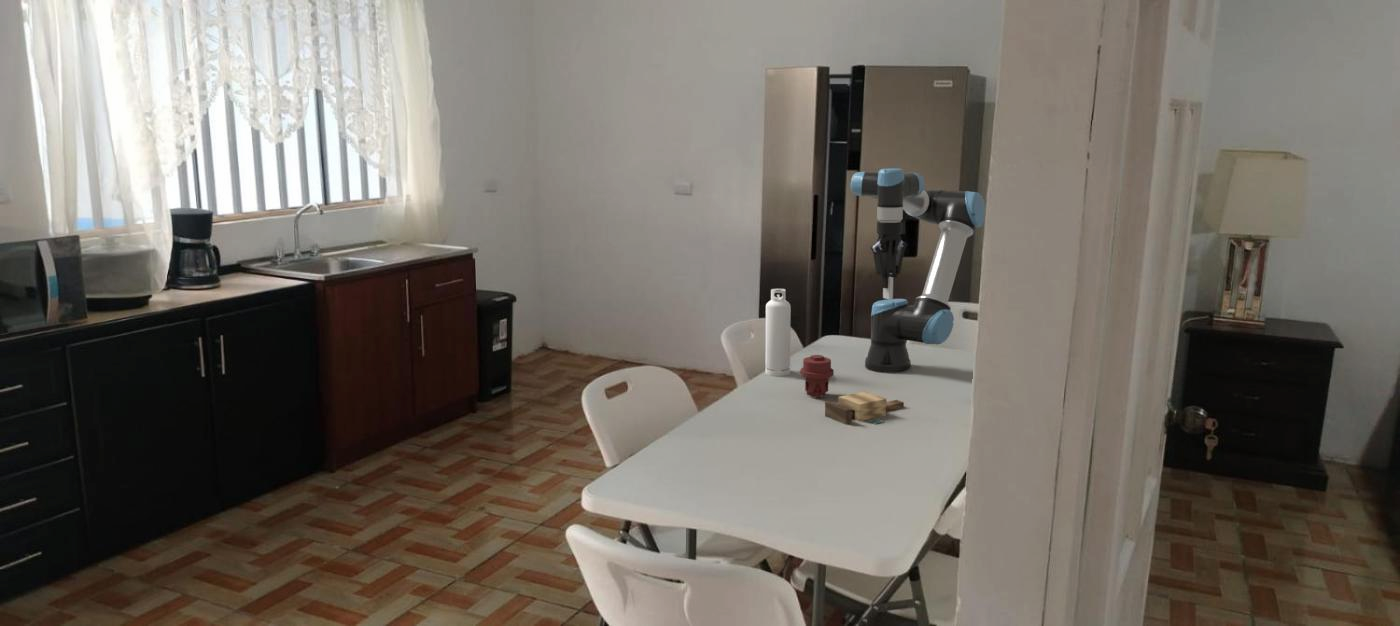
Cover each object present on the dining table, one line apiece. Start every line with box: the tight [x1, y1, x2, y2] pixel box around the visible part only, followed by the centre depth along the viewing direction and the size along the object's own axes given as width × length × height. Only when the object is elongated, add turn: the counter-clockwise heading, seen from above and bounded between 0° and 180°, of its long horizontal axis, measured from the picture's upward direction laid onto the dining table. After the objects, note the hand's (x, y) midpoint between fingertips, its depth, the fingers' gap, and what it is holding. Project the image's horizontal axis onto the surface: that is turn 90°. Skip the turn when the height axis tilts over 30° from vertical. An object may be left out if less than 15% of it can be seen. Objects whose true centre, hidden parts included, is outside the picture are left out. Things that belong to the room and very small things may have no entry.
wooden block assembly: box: [824, 399, 905, 425], centre depth 278 cm, size 24×18×4 cm
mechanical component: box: [799, 354, 834, 399], centre depth 295 cm, size 12×10×10 cm
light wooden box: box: [837, 390, 887, 422], centre depth 277 cm, size 10×9×5 cm
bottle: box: [764, 288, 792, 377], centre depth 319 cm, size 8×8×28 cm
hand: (887, 298), depth 295 cm, fingers closed
